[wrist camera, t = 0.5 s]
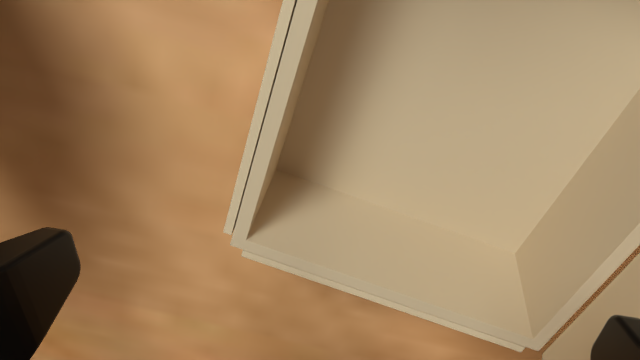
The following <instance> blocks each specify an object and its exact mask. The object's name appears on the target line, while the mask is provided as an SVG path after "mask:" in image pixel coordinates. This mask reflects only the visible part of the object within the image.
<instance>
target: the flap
mask: <svg viewBox="0 0 640 360" xmlns="http://www.w3.org/2000/svg"><path fill="white" fill-rule="evenodd" d="M613 315H623V316H629V317H636V318H639V319H640V253H639V254H638V255H637V256H636V257H635V258H634V259H633V260H632V261H631V262H630V263H629V264H628V265H627V266H626V267H625V269H624V270H623V271H622V272H621V273H620V274H619V275H618V276H617V277H616V278H615V279H614V280H613V281H612V282H611V283H610V284H609V285H608V286H607V287H606V288H605V289H604V290H603V291H602V292H601V293H600V294H599V296H598V297H597V298H596V299H595V300H594V301H593V302H592V303H591V304H590V305H589V306H588V307H587V308H586V309H585V310H584V311H583V312H582V313H581V314H580V315H579V316H578V317H577V318H576V319H575V320H574V321H573V323H572V324H571V325H570V326H569V327H568V328H567V329H566V330H565V331H564V332H563V333H562V334H561V335H560V336H559V337H558V338H557V339H556V340H555V341H554V342H553V343H552V344H551V345H550V346H549V347H548V348H547V349H546V351H545V352H544V353H543V354H542V360H590V355H591V349H592V346H593V344H594V342H595V340H596V339H597V337H598V335H599V334H600V332H601V330H602V329H603V327H604V325H605V324H606V322H607V320H608V319H609V318H610V317H611V316H613Z"/></svg>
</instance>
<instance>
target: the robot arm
mask: <svg viewBox="0 0 640 360" xmlns="http://www.w3.org/2000/svg"><path fill="white" fill-rule="evenodd" d="M79 274H80V261H79V258H78V254H77V251H76V247H75V244H74V241H73V237H72V235H71V233H70V232H69V231H67V230H63V229H56V228H50V227H46V228H42V229H39V230H36V231H33V232H30V233H27V234H24V235H21V236H18V237H15V238H13V239H10V240H7V241H4V242H1V243H0V360H30V358H31V357H32V356H33V354H34V353H35V351H36V350H37V348H38V347H39V345H40V344H41V342H42V340H43V339H44V337H45V335H46V334H47V332H48V330H49V329H50V327H51V325H52V323H53V322H54V320H55V318H56V316H57V315H58V313H59V311H60V309H61V308H62V306H63V304H64V302H65V301H66V299H67V297H68V295H69V294H70V292H71V290H72V288H73V287H74V285H75V283H76V282H77V279H78V277H79ZM590 360H640V319H639V318H636V317H629V316H623V315H613V316H611V317H610V318H609V319H608V320H607V322H606V324H605V325H604V327H603V329H602V330H601V332H600V334H599V335H598V337H597V339H596V340H595V342H594V344H593V346H592V349H591V355H590Z"/></svg>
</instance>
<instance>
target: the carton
mask: <svg viewBox="0 0 640 360" xmlns="http://www.w3.org/2000/svg"><path fill="white" fill-rule="evenodd" d="M234 228H235V229H234ZM233 230H234V232H233ZM223 232H224V233H227V234H230V235H232V232H233V236H232V240H231V243H230V245H231V246H234V247H237V248H240V249H243V252H242V255H241V256H242V257H245V258H248V259H251V260H254V261H257V262H260V263H263V264H266V265H269V266H271V267H274V268H277V269H280V270H283V271H286V272H289V273H292V274H295V275H298V276H301V277H303V278H306V279H309V280H312V281H315V282H318V283H321V284H324V285H327V286H330V287H332V288H335V289H338V290H341V291H344V292H347V293H350V294H353V295H356V296H359V297H362V298H364V299H367V300H370V301H373V302H376V303H379V304H382V305H385V306H388V307H391V308H394V309H396V310H399V311H402V312H405V313H408V314H411V315H414V316H417V317H420V318H423V319H426V320H428V321H431V322H434V323H437V324H440V325H443V326H446V327H449V328H452V329H455V330H458V331H460V332H463V333H466V334H469V335H472V336H475V337H478V338H481V339H484V340H487V341H489V342H492V343H495V344H498V345H501V346H504V347H507V348H510V349H513V350H516V351H519V352H522V351H523V350H524V349H525V347H527V348H530V349H533V350H536V351H539V350H540V349H541V348H542V347H543V346H544V345H545V344H546V343H547V342H548V341H549V340H550V339H551V338H552V337H553V335H554V334H555V333H556V332H557V331H558V330H559V329H560V328H561V327H562V326H563V325H564V324H565V323H566V322H567V321H568V320H569V319H570V318H571V317H572V316H573V314H574V313H575V312H576V311H577V310H578V309H579V308H580V307H581V306H582V305H583V304H584V303H585V302H586V301H587V300H588V299H589V298H590V297H591V296H592V294H593V293H594V292H595V291H596V290H597V289H598V288H599V287H600V286H601V285H602V284H603V283H604V282H605V281H606V280H607V279H608V278H609V277H610V276H611V275H612V273H613V272H614V271H615V270H616V269H617V268H618V267H619V266H620V265H621V264H622V263H623V262H624V261H625V260H626V259H627V258H628V257H629V256H630V255H631V253H632V252H633V251H634V250H635V249H636V248H637V247H638V246H639V245H640V0H283V3H282V7H281V10H280V14H279V18H278V22H277V26H276V30H275V34H274V38H273V41H272V45H271V49H270V53H269V57H268V61H267V65H266V69H265V73H264V76H263V80H262V84H261V88H260V92H259V96H258V100H257V104H256V107H255V111H254V115H253V119H252V123H251V127H250V131H249V135H248V138H247V142H246V146H245V150H244V154H243V158H242V162H241V166H240V169H239V173H238V177H237V181H236V185H235V189H234V193H233V197H232V200H231V204H230V208H229V212H228V216H227V220H226V224H225V228H224V231H223Z"/></svg>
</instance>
